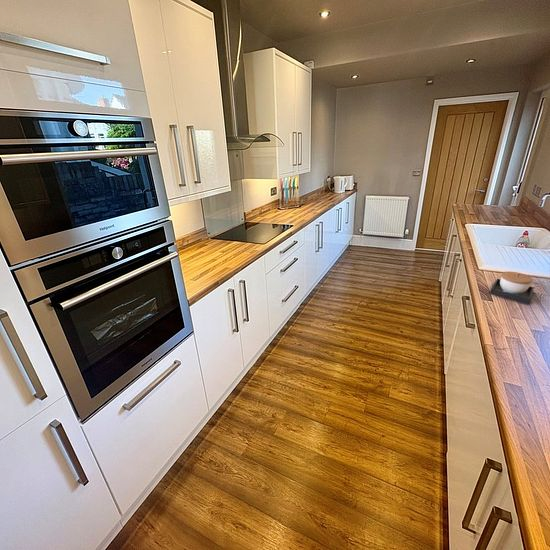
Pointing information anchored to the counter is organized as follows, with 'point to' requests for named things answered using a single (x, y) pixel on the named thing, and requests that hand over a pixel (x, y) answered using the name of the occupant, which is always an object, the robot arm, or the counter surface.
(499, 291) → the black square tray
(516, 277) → the trinket box
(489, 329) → the counter surface
